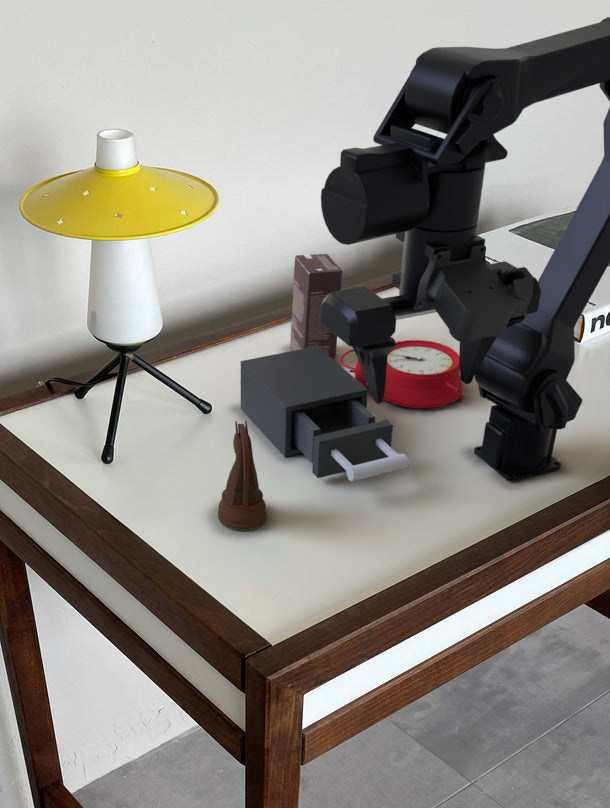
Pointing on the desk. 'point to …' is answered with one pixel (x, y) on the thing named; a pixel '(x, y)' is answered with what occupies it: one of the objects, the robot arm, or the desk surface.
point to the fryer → (292, 390)
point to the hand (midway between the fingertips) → (422, 391)
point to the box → (313, 302)
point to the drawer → (345, 440)
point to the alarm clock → (419, 374)
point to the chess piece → (242, 488)
